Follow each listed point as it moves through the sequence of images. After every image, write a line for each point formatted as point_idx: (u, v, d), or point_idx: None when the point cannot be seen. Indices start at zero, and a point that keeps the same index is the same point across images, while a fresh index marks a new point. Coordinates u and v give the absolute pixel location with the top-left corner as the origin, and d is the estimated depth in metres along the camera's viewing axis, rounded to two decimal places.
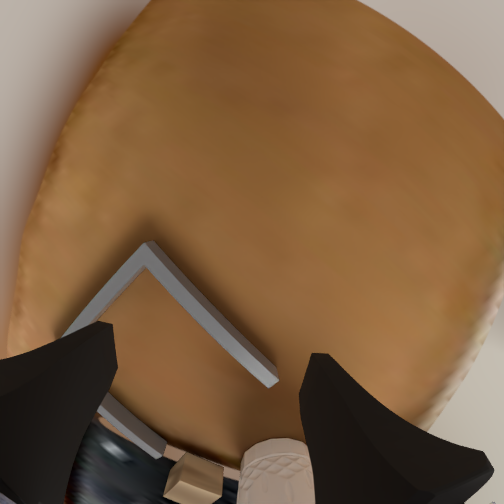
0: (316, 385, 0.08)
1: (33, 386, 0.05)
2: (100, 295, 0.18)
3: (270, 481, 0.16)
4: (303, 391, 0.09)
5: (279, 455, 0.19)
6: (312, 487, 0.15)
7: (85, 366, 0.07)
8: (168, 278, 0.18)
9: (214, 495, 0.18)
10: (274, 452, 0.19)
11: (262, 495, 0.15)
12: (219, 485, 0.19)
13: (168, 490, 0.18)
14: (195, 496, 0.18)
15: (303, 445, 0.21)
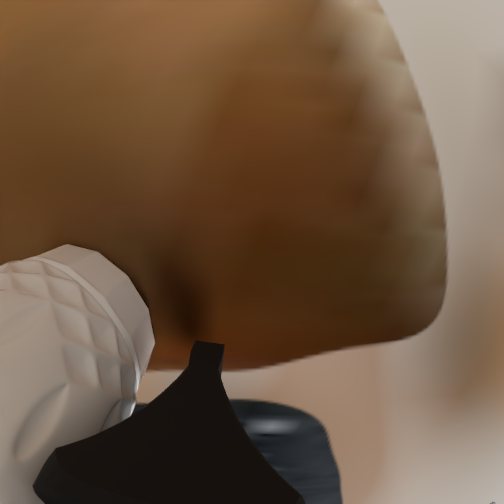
0: None
1: None
2: None
3: None
4: None
5: None
6: None
7: None
8: None
9: None
10: None
11: None
12: None
13: None
14: None
15: (61, 247, 0.09)
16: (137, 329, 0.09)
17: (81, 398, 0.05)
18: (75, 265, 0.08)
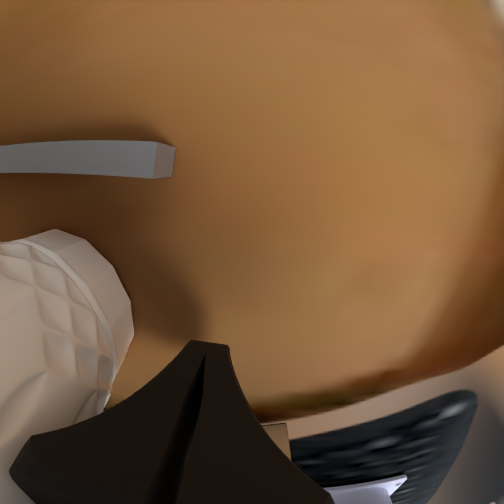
0: (204, 375, 0.08)
1: (174, 432, 0.05)
2: None
3: None
4: None
5: None
6: None
7: (196, 392, 0.07)
8: None
9: None
10: None
11: None
12: None
13: None
14: None
15: (49, 231, 0.09)
16: (118, 320, 0.09)
17: (57, 386, 0.05)
18: (62, 252, 0.08)
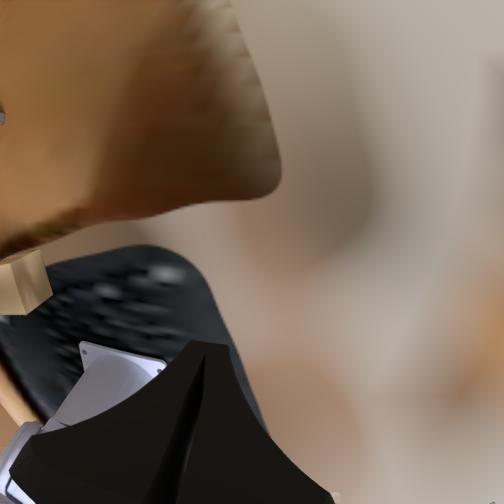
0: (204, 375, 0.08)
1: (174, 432, 0.05)
2: None
3: None
4: None
5: None
6: None
7: (196, 392, 0.07)
8: None
9: (6, 267, 0.15)
10: None
11: None
12: (17, 259, 0.16)
13: None
14: (4, 286, 0.15)
15: None
16: None
17: None
18: None
